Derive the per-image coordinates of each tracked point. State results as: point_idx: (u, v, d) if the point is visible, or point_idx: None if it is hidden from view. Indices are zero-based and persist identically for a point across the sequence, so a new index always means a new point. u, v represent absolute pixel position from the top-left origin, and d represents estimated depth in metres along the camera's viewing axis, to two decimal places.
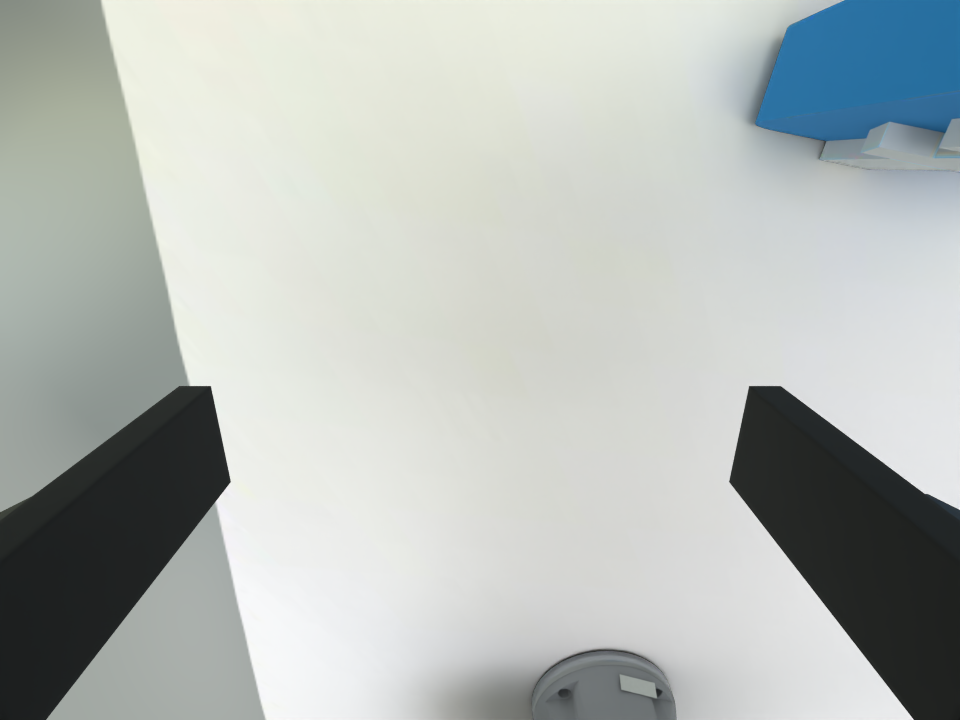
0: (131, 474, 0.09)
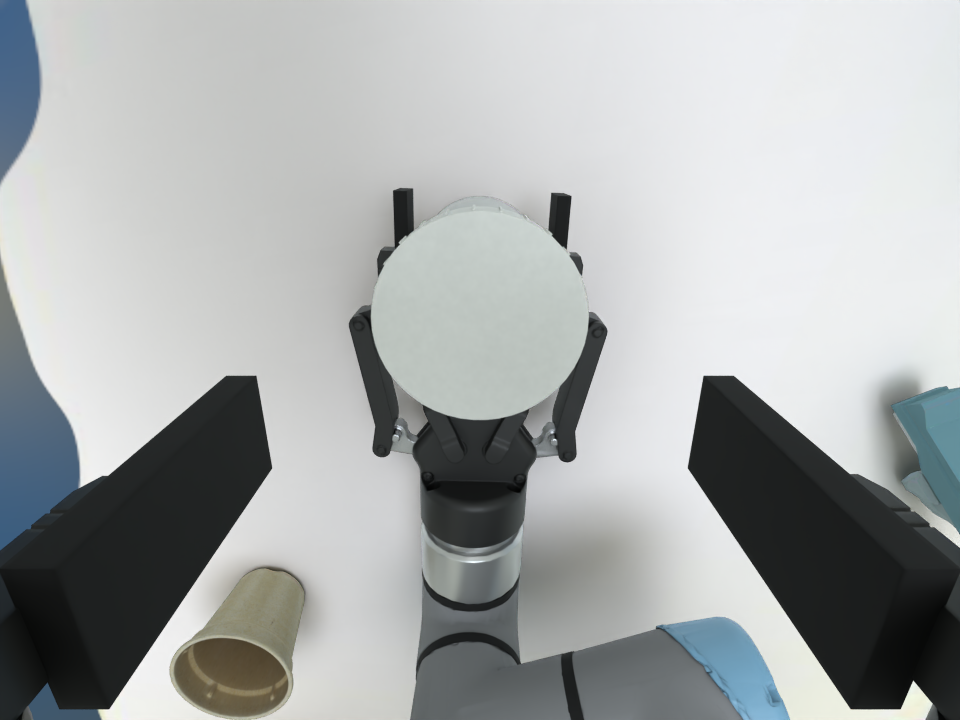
0: (194, 456, 0.10)
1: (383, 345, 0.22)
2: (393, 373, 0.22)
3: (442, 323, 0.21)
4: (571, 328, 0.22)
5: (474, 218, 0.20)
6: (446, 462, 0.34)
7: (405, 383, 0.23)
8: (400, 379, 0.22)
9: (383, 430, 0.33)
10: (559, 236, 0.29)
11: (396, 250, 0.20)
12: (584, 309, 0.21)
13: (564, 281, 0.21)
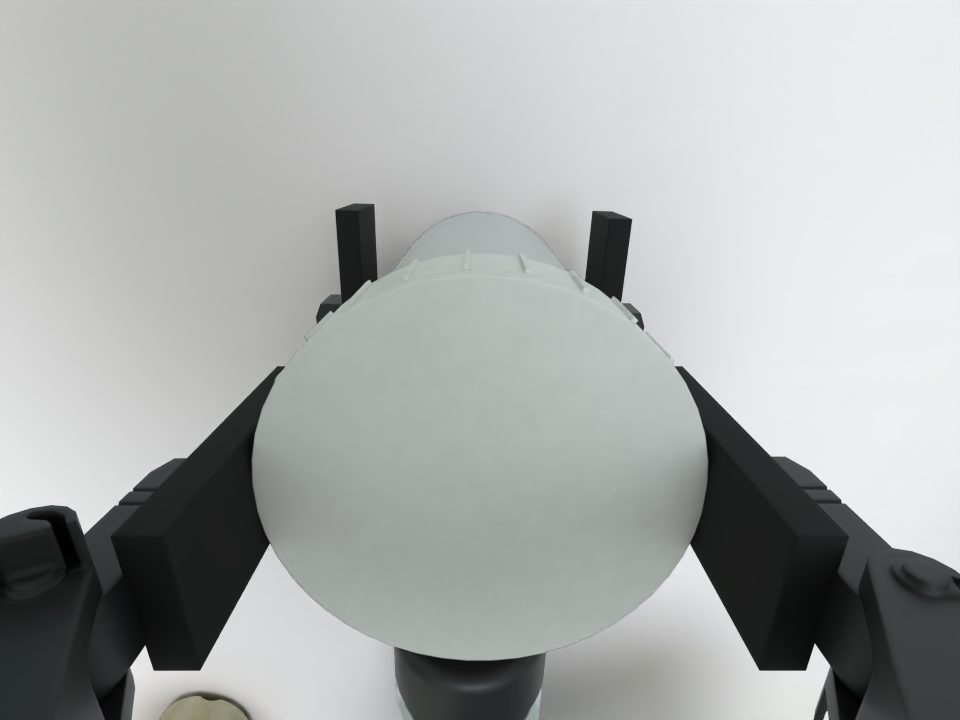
0: None
1: (282, 537, 0.11)
2: (307, 585, 0.11)
3: (401, 499, 0.10)
4: (669, 507, 0.10)
5: (467, 291, 0.09)
6: None
7: (332, 602, 0.11)
8: (321, 595, 0.11)
9: None
10: (610, 283, 0.18)
11: (296, 358, 0.09)
12: (700, 473, 0.10)
13: (662, 420, 0.10)
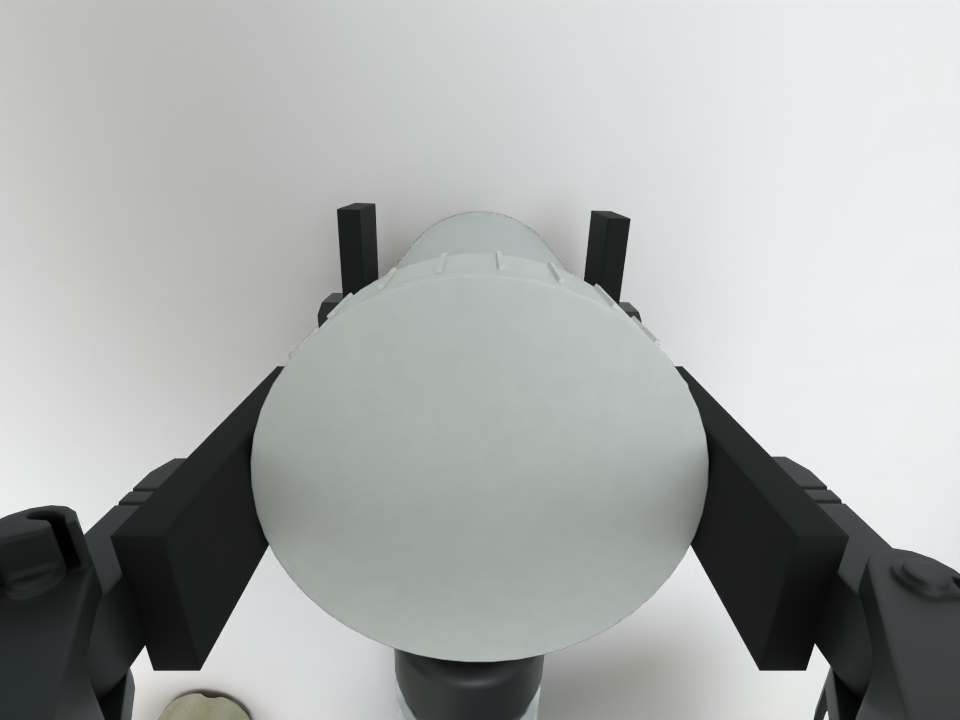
0: None
1: (474, 652, 0.12)
2: (533, 651, 0.12)
3: (461, 560, 0.11)
4: (547, 325, 0.09)
5: (264, 462, 0.10)
6: None
7: (559, 640, 0.12)
8: (548, 645, 0.12)
9: None
10: (608, 282, 0.18)
11: (306, 592, 0.11)
12: (509, 286, 0.09)
13: (430, 319, 0.09)
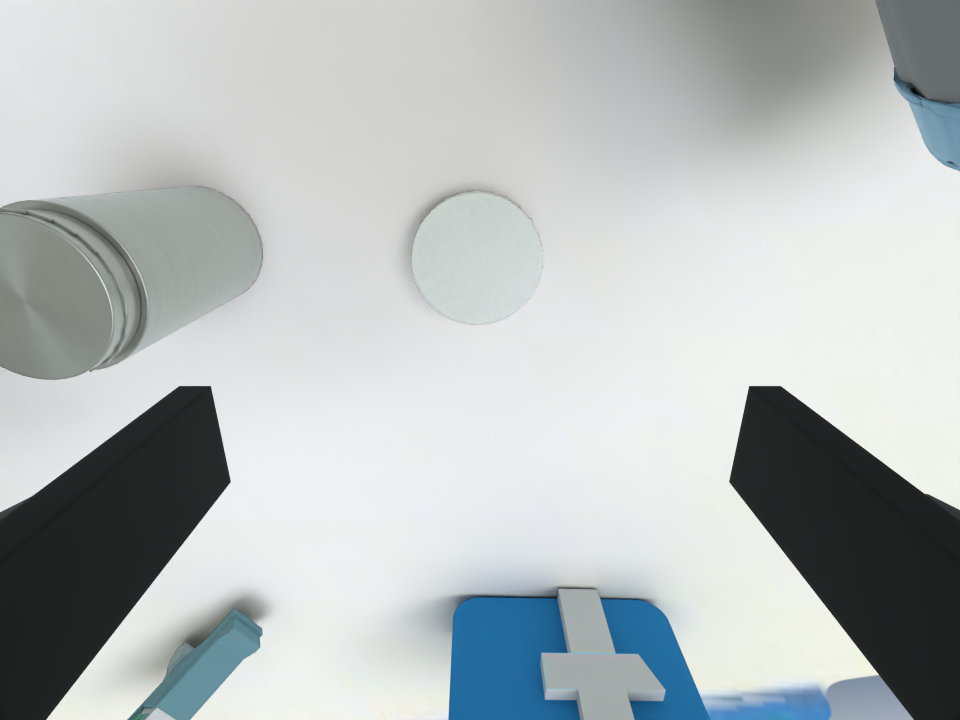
0: (131, 474, 0.09)
1: (534, 278, 0.36)
2: (540, 260, 0.35)
3: (496, 273, 0.36)
4: (429, 231, 0.35)
5: (450, 315, 0.37)
6: None
7: (538, 250, 0.35)
8: (539, 254, 0.35)
9: None
10: None
11: (496, 321, 0.37)
12: (417, 238, 0.35)
13: (421, 260, 0.35)
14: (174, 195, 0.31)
